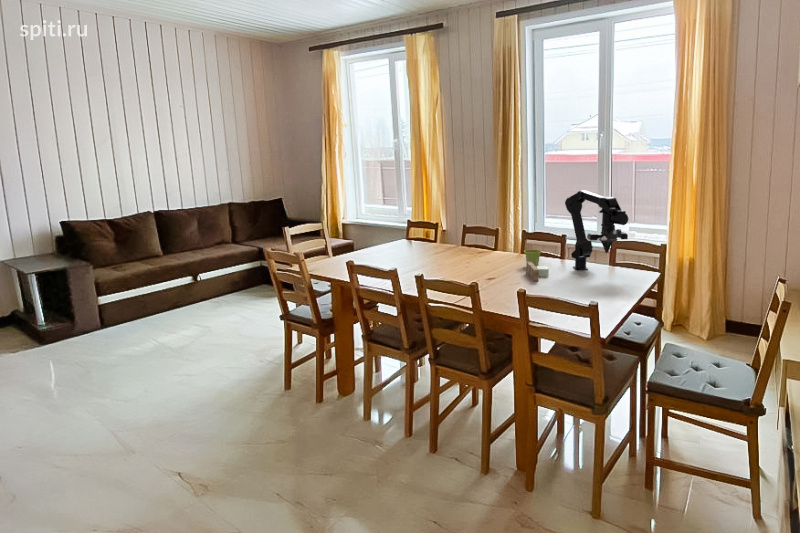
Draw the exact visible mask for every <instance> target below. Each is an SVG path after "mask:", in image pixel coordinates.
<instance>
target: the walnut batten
mask: <svg viewBox="0 0 800 533" xmlns="http://www.w3.org/2000/svg"><path fill="white" fill-rule="evenodd" d="M526 274H527V275H528V277H529V278H530V279H531V281H533V282H539V278H540V276H539V269H538V268H537V267H536V266H535V265H534V264H533V263H532V262H527V263H526Z"/></svg>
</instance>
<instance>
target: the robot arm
mask: <svg viewBox="0 0 800 533" xmlns="http://www.w3.org/2000/svg"><path fill="white" fill-rule="evenodd" d="M585 201H587V202H590V203H594V204H596V205H598V207H599V208H601V210H599V211H598V213H599V214H602V216H601V218H602V219H601V223H600V226H601V231H600V234H598V233H596V232H588V233H587V235H586V231H585V227H584V223H583V216H582V209H583V203H584V202H585ZM564 205H565V208H566V210H567V211H568V213H569V214H570V215H571V222H572V224H573V228H574V229H573V230H574V233H575V238H576V242H575V245H574V248H575V249H574V251H572V252H571V254H570V255H571V258H572V259H574V266H572V268H573V269H575V271H584V270H585V271H587V270H589V268H588V267H587V259H588V258H590V257H591V255H592V252H593V243H592V241H599V242H601V244H602V247H603V250H604V253H605V254H608V253H609V250H610V248H611V246H612V244H613V243H614V242H616V241H617V240H618V239H621V240H628V239H629V238H628V237H629V236H628V233H626V232H624V231H622V229H619V228H618V229H616V226H615V225H621V226H626V225H627V224H628V222H629V216H628V214H627V213H626V210H622V208H621V206H620V204H619V202H618V199H617V197H615V196H603V195H600V194H597V193H593V192H591V191H588V190H586V189H584V190H579V191H577V192H576V193H575V194H573V195H571V196H568V197H567V198H566V199H565V202H564Z"/></svg>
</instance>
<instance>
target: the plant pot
mask: <svg viewBox="0 0 800 533" xmlns="http://www.w3.org/2000/svg"><path fill="white" fill-rule="evenodd" d="M523 252H524V254H525V261H526V264H527V262H532V263H533V264H534V265H535V266H536V267H537V266H539V263H540V256H541V253H542V250H541V249H540V250H539V249H525V250H523Z"/></svg>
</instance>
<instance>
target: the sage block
mask: <svg viewBox="0 0 800 533" xmlns="http://www.w3.org/2000/svg"><path fill="white" fill-rule="evenodd" d="M537 268H538V269H539V277H549V269H550V267H549V265H538V266H537Z"/></svg>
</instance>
